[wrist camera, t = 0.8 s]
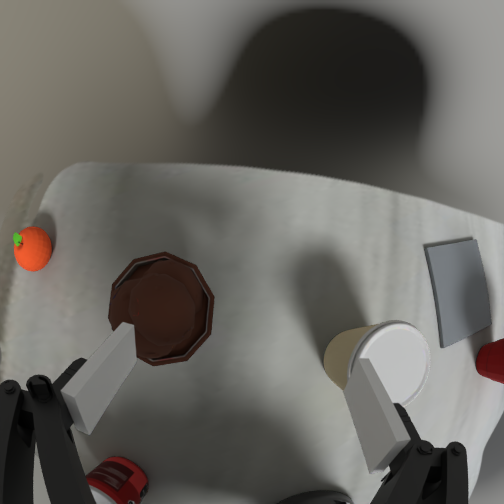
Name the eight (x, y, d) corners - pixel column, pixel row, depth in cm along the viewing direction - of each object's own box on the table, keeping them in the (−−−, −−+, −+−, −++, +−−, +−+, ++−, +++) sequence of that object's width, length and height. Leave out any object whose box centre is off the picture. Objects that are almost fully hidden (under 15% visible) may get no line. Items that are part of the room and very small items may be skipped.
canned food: (127, 498, 24) (100, 532, 14) (95, 461, 26) (59, 488, 15) (161, 488, 26) (138, 527, 15) (126, 449, 27) (91, 480, 17)
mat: (488, 324, 33) (491, 324, 32) (440, 348, 32) (443, 348, 31) (473, 240, 37) (476, 239, 36) (424, 249, 36) (427, 247, 36)
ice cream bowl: (194, 256, 35) (162, 209, 21) (238, 330, 33) (234, 335, 18) (128, 295, 34) (63, 274, 19) (168, 370, 31) (117, 396, 17)
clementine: (24, 259, 34) (-2, 248, 27) (42, 225, 36) (17, 209, 29) (46, 283, 33) (18, 274, 27) (65, 246, 35) (39, 231, 28)
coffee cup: (365, 398, 30) (411, 421, 19) (305, 379, 31) (334, 404, 20) (389, 335, 33) (443, 335, 21) (332, 313, 34) (373, 305, 22)
